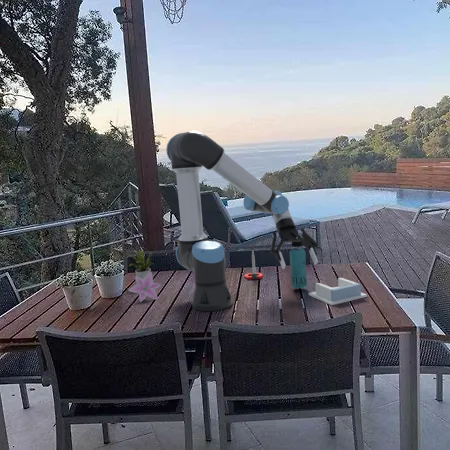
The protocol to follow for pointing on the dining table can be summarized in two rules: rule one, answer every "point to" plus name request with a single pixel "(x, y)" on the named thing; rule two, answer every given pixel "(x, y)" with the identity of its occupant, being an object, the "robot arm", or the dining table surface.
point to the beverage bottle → (298, 265)
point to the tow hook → (253, 271)
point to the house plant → (141, 265)
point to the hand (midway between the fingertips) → (300, 265)
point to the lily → (145, 287)
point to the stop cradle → (338, 292)
